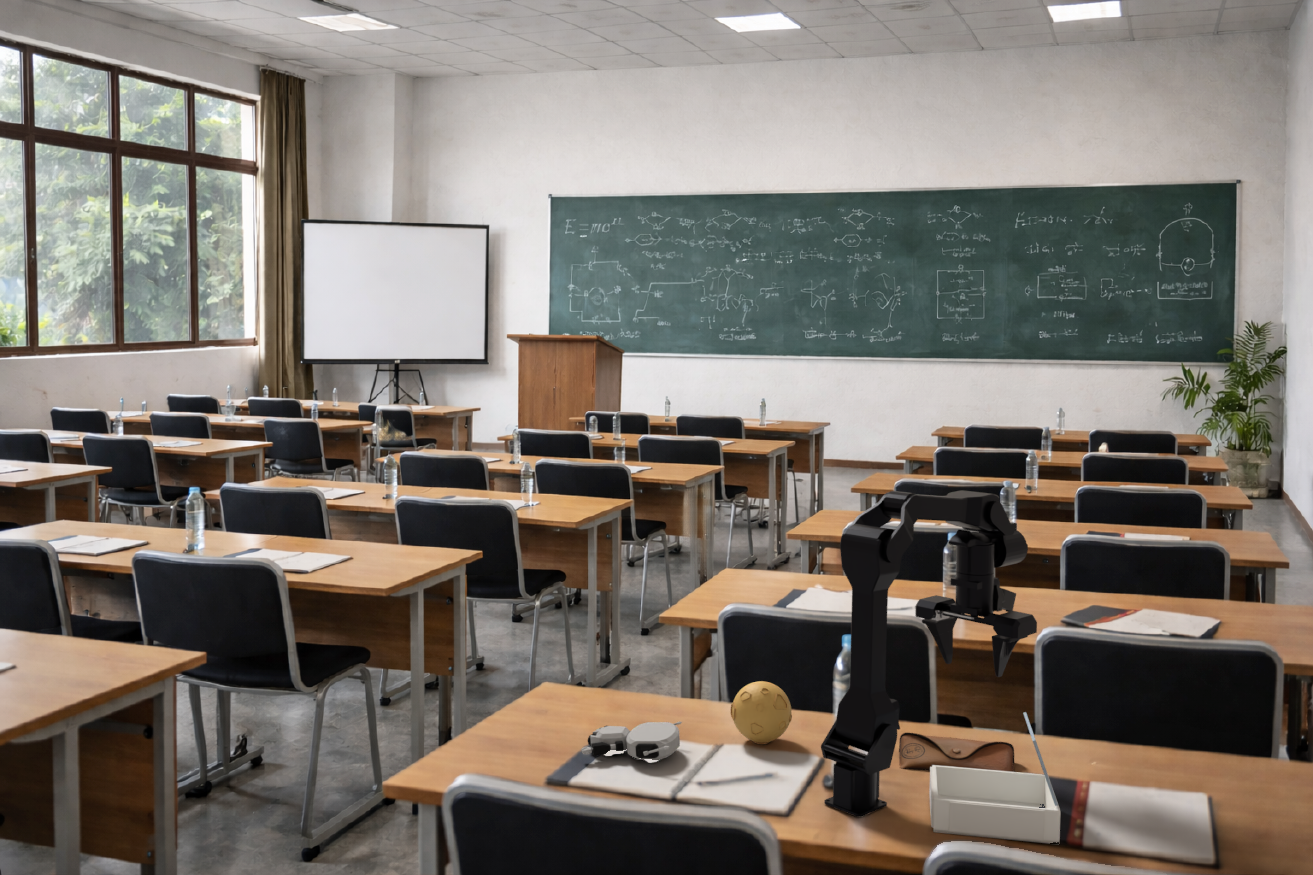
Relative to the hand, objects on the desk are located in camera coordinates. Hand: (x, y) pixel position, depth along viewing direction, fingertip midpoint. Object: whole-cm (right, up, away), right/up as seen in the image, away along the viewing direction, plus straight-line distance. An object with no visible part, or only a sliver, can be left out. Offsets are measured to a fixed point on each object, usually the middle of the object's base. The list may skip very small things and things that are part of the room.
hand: (973, 669), depth 173 cm
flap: (+4, -12, -23) cm, 26 cm away
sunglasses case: (-3, -16, 0) cm, 16 cm away
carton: (-3, -16, -21) cm, 26 cm away
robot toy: (-54, -15, +3) cm, 56 cm away
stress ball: (-33, -14, +10) cm, 37 cm away
